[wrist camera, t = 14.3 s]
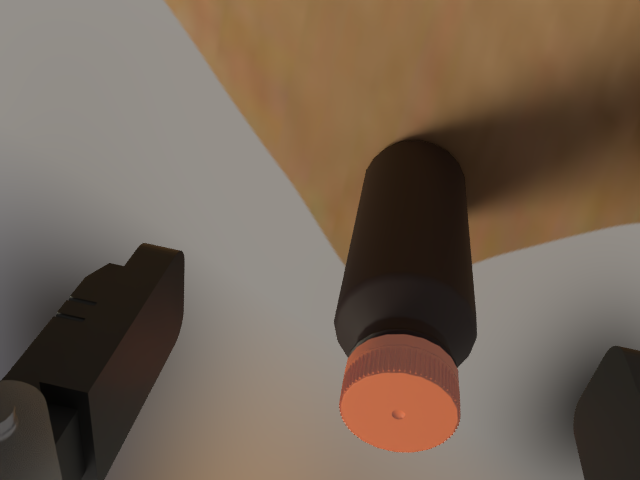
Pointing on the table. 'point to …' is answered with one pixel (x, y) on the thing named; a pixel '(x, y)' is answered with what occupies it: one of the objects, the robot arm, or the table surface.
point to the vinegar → (407, 300)
